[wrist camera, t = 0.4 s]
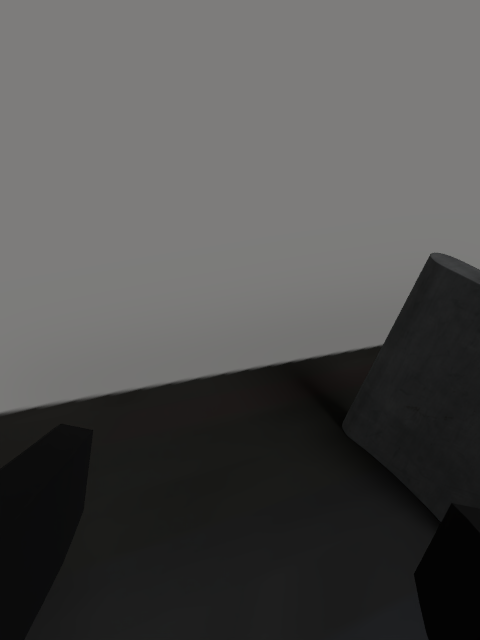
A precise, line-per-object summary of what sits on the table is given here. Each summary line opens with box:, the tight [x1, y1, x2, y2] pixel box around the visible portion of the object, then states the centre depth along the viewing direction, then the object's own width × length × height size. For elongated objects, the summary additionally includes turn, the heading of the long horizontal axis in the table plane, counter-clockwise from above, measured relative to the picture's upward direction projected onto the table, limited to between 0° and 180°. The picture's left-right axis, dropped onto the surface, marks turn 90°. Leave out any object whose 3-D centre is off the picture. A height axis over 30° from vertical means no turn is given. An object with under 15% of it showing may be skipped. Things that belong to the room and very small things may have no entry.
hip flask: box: [342, 253, 480, 522], centre depth 33 cm, size 16×4×20 cm, turn 36°
